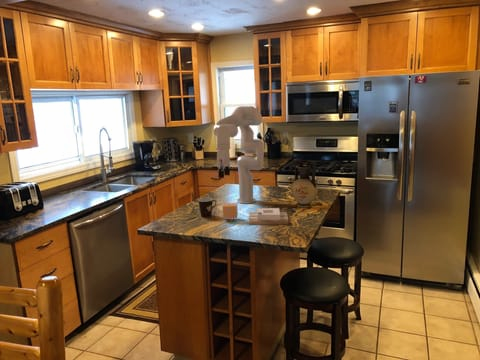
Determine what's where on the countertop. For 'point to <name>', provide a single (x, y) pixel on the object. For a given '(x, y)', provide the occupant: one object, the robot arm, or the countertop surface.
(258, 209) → the socket
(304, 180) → the amphora
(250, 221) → the board
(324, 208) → the countertop surface
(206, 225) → the countertop surface
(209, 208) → the coffee mug
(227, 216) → the orange block
